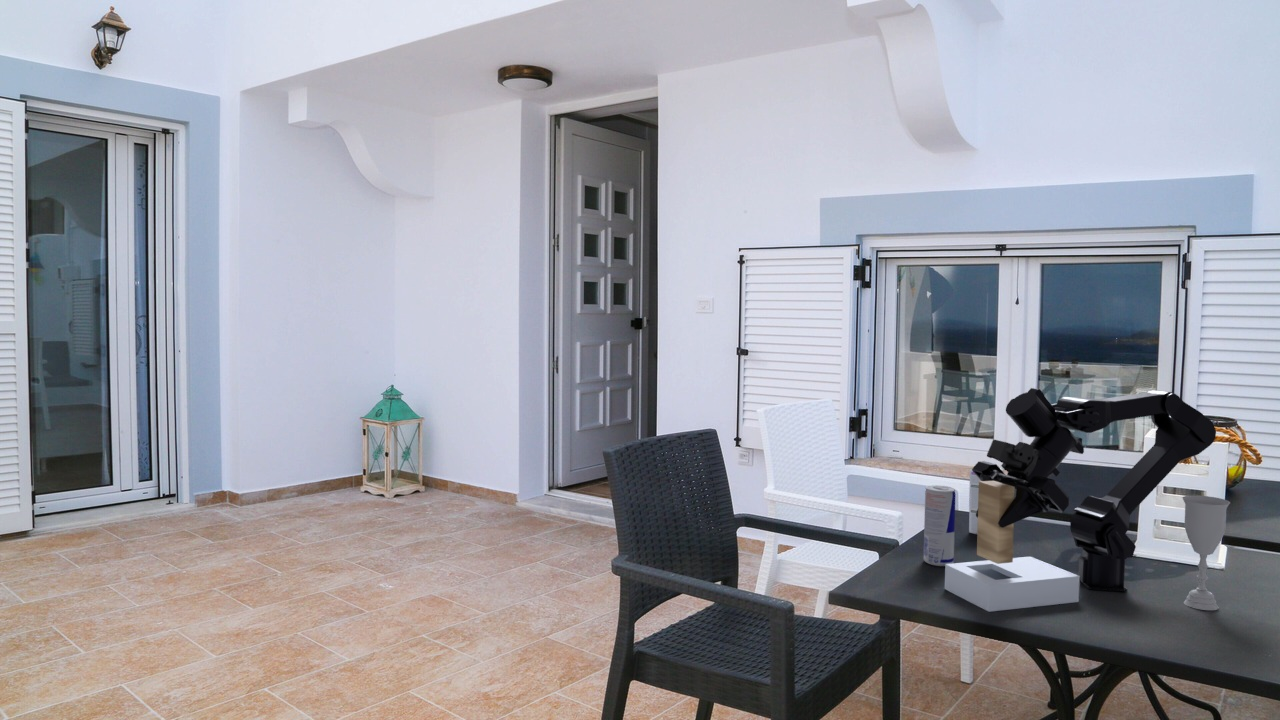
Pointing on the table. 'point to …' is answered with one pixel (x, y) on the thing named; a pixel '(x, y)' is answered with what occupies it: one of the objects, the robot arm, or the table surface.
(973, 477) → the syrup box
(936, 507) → the beverage can
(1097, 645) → the table surface
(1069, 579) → the box
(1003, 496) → the plate
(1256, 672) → the table surface
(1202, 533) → the chalice
